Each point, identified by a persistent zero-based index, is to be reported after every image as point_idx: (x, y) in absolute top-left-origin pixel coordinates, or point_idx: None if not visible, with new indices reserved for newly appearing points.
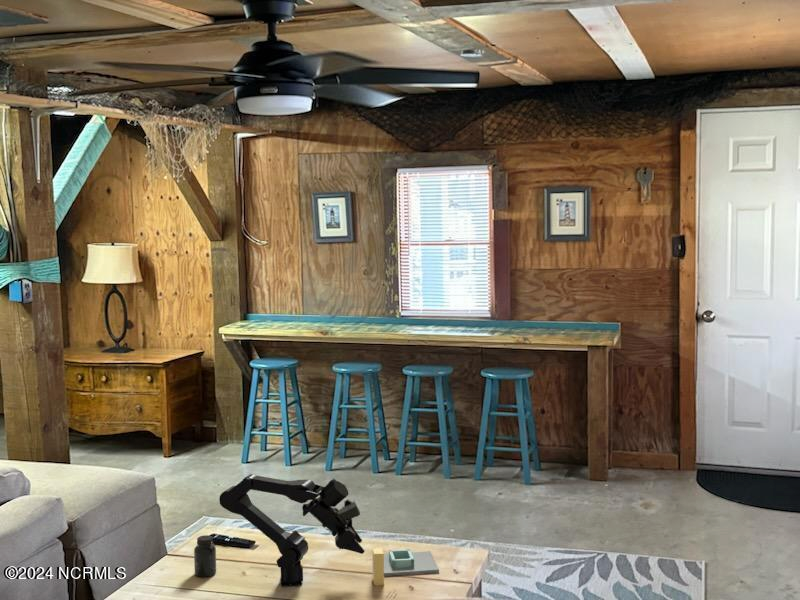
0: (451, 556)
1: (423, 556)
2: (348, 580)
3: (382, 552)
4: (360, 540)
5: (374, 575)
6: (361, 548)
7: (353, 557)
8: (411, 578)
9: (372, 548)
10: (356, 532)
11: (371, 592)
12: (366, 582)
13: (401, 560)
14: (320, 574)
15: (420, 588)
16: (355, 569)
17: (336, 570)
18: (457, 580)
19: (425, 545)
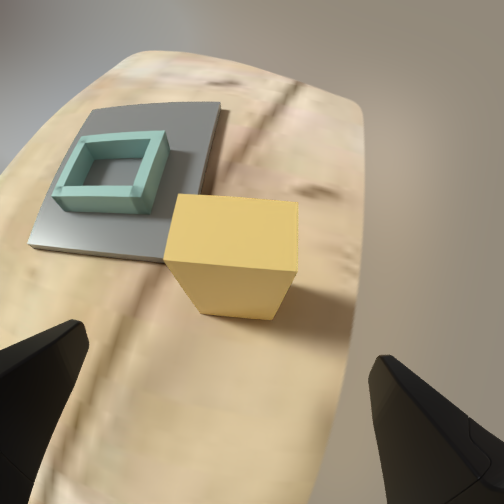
0: (135, 83)
1: (111, 123)
2: (188, 419)
3: (274, 205)
4: (77, 337)
5: (277, 309)
6: (420, 385)
7: (6, 325)
8: (239, 175)
9: (169, 259)
10: (5, 360)
11: (340, 343)
12: (231, 348)
13: (152, 166)
14: (106, 494)
15: (327, 170)
16: (86, 356)
17: (79, 429)
18: (284, 91)
19: (49, 125)
